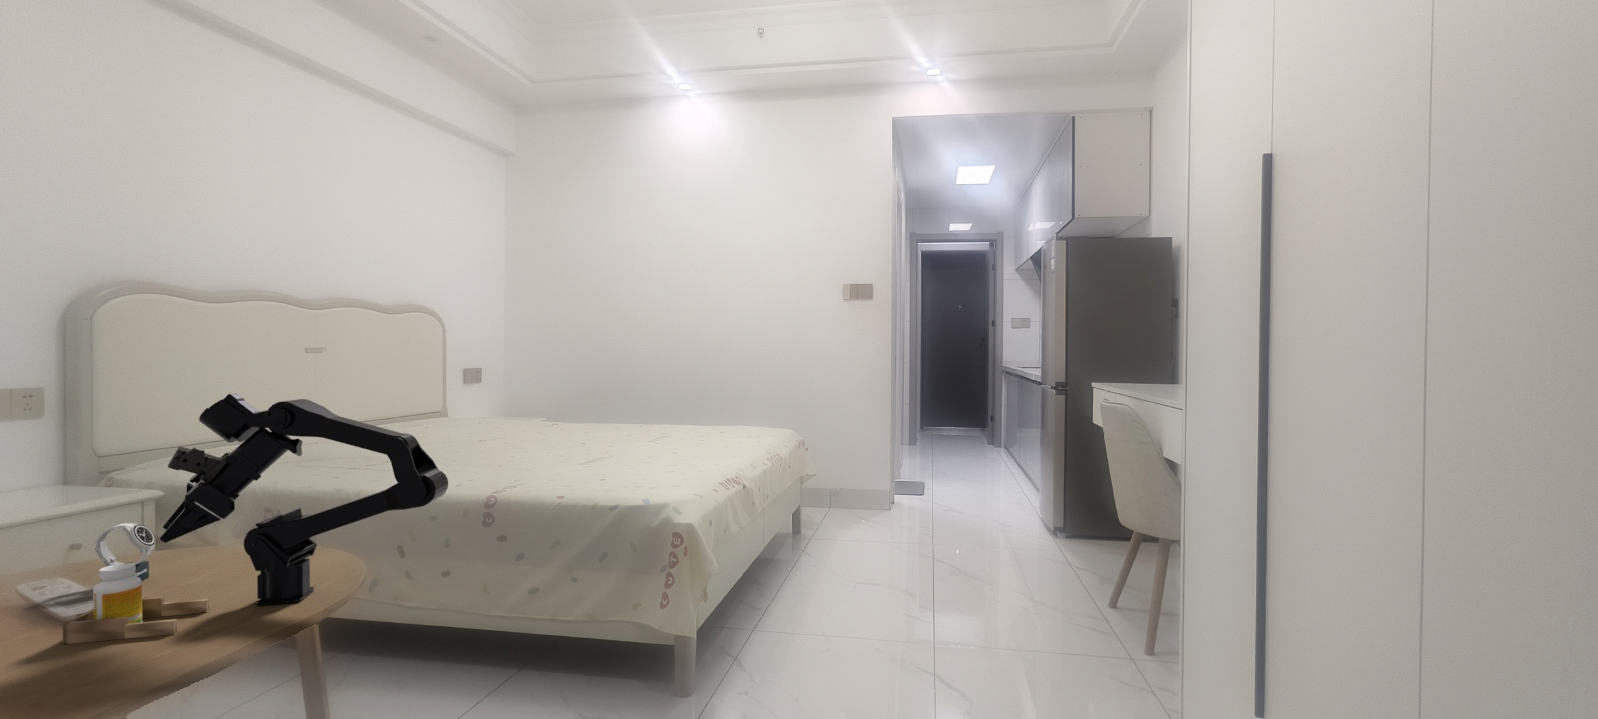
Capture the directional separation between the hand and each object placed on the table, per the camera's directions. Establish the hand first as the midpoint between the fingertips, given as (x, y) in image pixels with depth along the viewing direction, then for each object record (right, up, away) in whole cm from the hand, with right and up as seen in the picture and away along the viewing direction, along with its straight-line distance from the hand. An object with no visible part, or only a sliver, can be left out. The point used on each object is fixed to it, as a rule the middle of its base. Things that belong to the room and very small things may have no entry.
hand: (163, 534), depth 110 cm
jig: (0, -14, -3) cm, 14 cm away
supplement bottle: (-4, -14, -4) cm, 15 cm away
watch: (-23, -13, +17) cm, 31 cm away
